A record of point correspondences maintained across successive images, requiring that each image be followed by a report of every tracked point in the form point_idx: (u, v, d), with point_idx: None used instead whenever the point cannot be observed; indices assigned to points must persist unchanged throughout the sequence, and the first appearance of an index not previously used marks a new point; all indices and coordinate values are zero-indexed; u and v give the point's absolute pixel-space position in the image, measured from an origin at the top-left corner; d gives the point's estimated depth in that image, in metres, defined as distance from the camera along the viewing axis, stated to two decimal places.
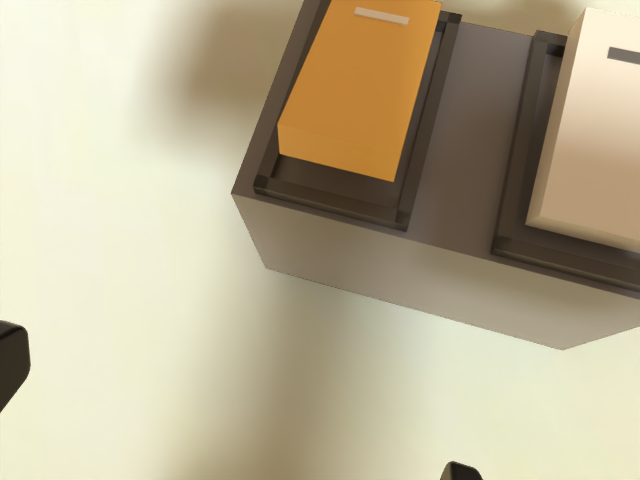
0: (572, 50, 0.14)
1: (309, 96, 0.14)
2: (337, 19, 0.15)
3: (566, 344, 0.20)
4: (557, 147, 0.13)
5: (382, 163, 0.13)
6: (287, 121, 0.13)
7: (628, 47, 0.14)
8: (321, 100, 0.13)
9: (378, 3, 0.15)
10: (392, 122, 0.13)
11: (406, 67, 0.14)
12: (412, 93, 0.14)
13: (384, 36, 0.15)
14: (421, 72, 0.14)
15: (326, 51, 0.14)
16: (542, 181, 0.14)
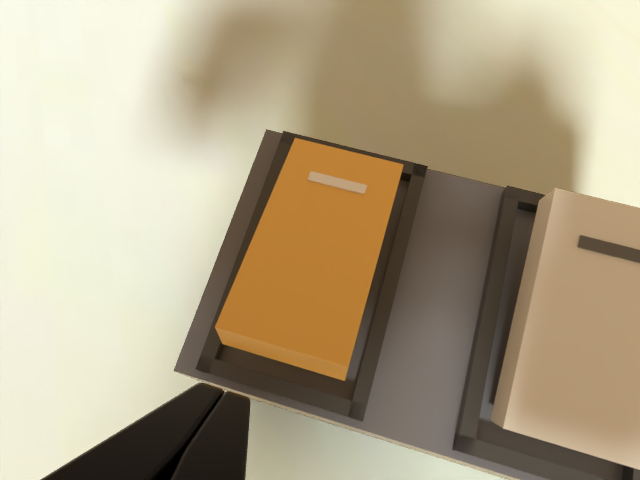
0: (541, 230, 0.13)
1: (252, 289, 0.12)
2: (289, 186, 0.14)
3: None
4: (522, 349, 0.12)
5: (330, 368, 0.12)
6: (225, 323, 0.12)
7: (600, 235, 0.13)
8: (265, 294, 0.12)
9: (334, 165, 0.14)
10: (341, 324, 0.12)
11: (360, 249, 0.13)
12: (365, 285, 0.12)
13: (338, 208, 0.14)
14: (376, 256, 0.13)
15: (274, 229, 0.13)
16: (507, 380, 0.13)
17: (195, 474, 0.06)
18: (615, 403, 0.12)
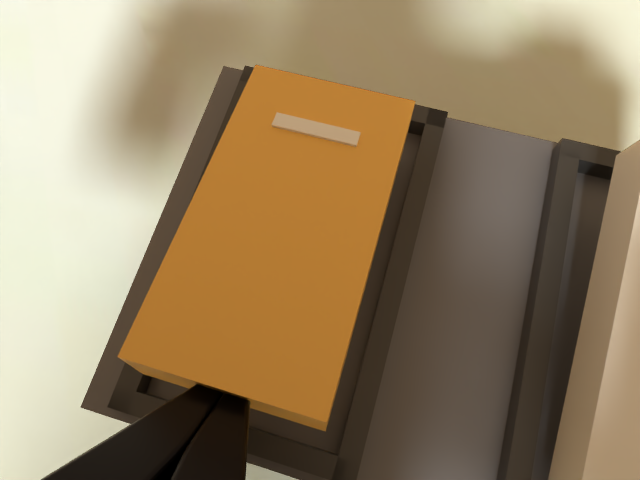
0: (626, 199, 0.09)
1: (180, 294, 0.08)
2: (244, 136, 0.09)
3: None
4: (604, 384, 0.08)
5: (300, 419, 0.08)
6: (134, 350, 0.08)
7: None
8: (199, 302, 0.08)
9: (313, 103, 0.10)
10: (317, 351, 0.08)
11: (349, 230, 0.08)
12: (356, 287, 0.08)
13: (317, 167, 0.09)
14: (374, 241, 0.08)
15: (219, 200, 0.09)
16: (577, 430, 0.08)
17: (195, 474, 0.06)
18: None
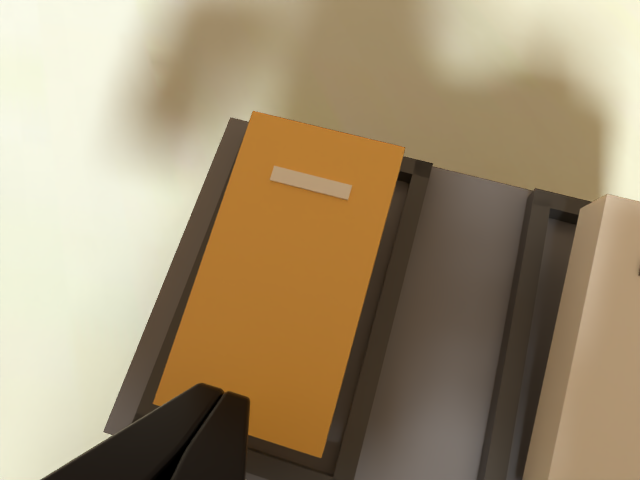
0: (586, 251, 0.10)
1: (198, 348, 0.10)
2: (245, 191, 0.10)
3: None
4: (564, 417, 0.09)
5: None
6: (165, 397, 0.09)
7: None
8: (214, 356, 0.09)
9: (307, 153, 0.10)
10: (313, 398, 0.09)
11: (340, 287, 0.10)
12: (346, 341, 0.09)
13: (312, 223, 0.10)
14: (362, 297, 0.10)
15: (226, 259, 0.10)
16: (542, 456, 0.09)
17: (195, 474, 0.06)
18: None
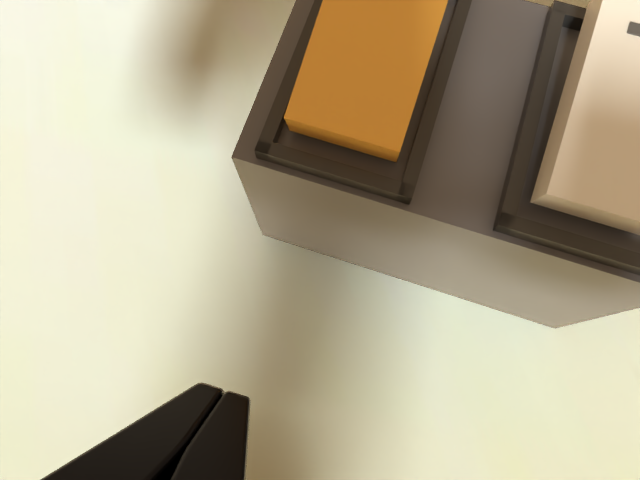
0: (591, 23, 0.14)
1: (315, 81, 0.14)
2: None
3: (559, 322, 0.20)
4: (568, 124, 0.13)
5: (384, 152, 0.14)
6: (292, 113, 0.14)
7: None
8: (326, 86, 0.14)
9: None
10: (395, 114, 0.13)
11: (416, 40, 0.14)
12: (419, 76, 0.13)
13: None
14: (431, 47, 0.13)
15: (333, 20, 0.14)
16: (551, 158, 0.13)
17: (195, 474, 0.06)
18: None
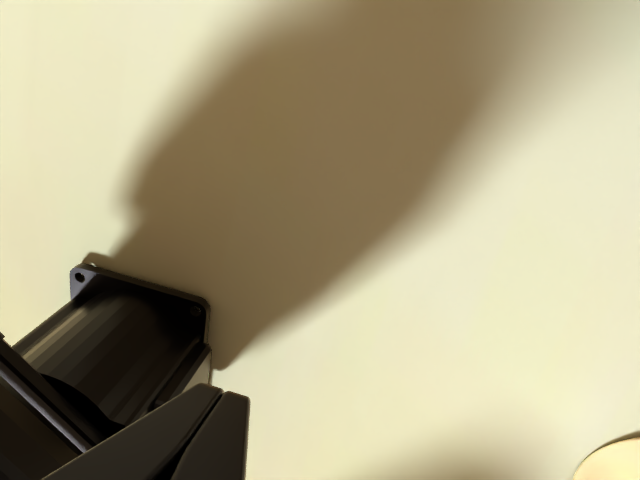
0: None
1: None
2: None
3: None
4: None
5: None
6: None
7: None
8: None
9: None
10: None
11: None
12: None
13: None
14: None
15: None
16: None
17: (195, 474, 0.06)
18: None
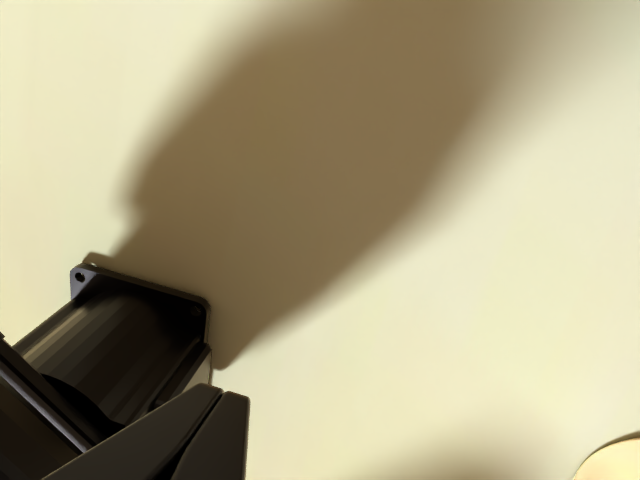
0: None
1: None
2: None
3: None
4: None
5: None
6: None
7: None
8: None
9: None
10: None
11: None
12: None
13: None
14: None
15: None
16: None
17: (195, 474, 0.06)
18: None
